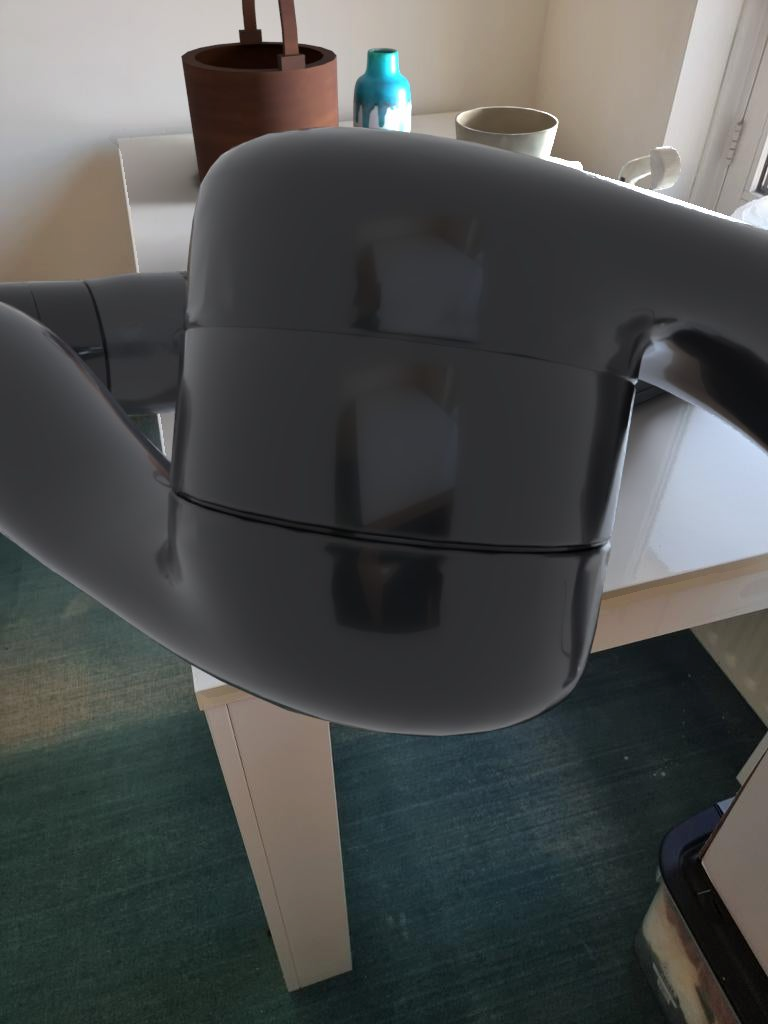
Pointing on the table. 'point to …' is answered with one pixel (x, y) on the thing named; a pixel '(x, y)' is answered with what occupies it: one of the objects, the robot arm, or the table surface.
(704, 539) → the table surface
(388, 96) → the vase
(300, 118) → the bucket
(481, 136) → the plant pot
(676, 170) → the toy excavator
